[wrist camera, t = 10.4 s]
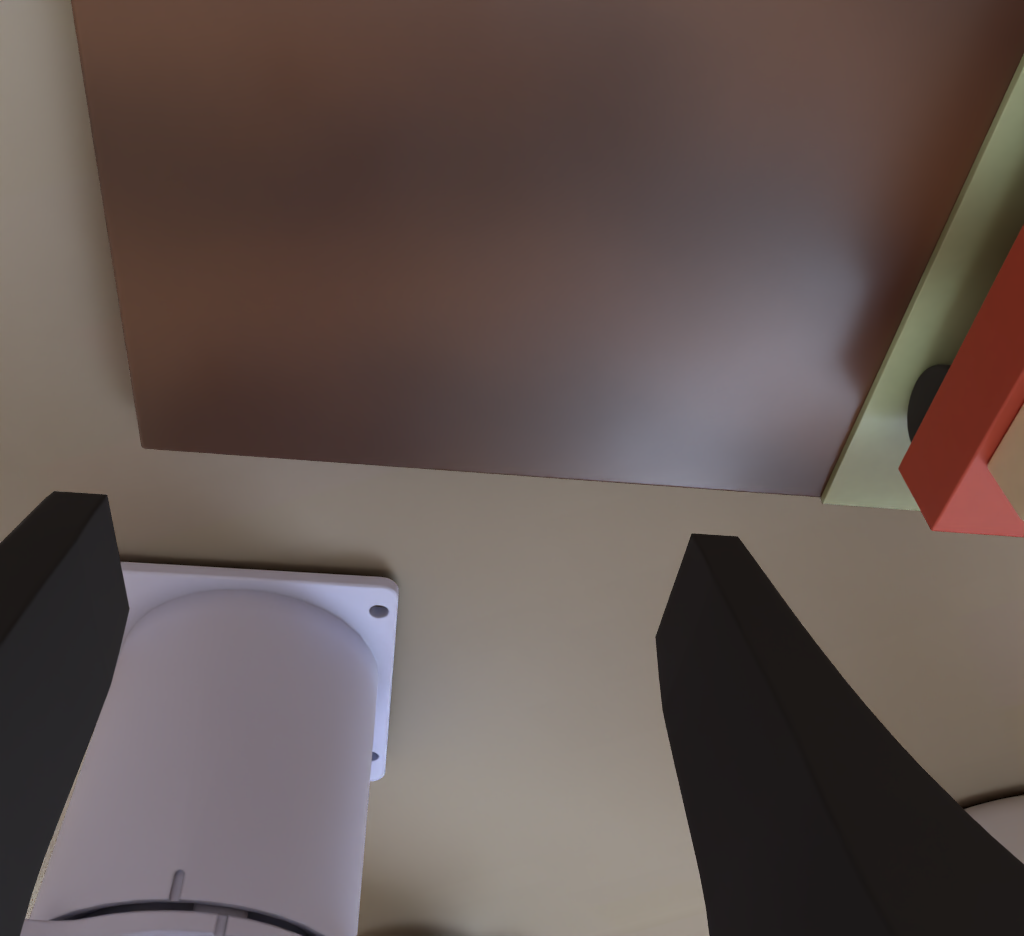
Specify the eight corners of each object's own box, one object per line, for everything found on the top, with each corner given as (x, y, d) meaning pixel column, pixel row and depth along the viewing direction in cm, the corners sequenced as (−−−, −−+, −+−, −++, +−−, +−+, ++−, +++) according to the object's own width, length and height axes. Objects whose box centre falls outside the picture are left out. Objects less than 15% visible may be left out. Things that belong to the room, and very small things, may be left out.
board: (1029, 488, 24) (1051, 520, 24) (151, 422, 22) (138, 455, 21) (1392, -76, 16) (1448, -61, 15) (48, -285, 14) (18, -281, 13)
